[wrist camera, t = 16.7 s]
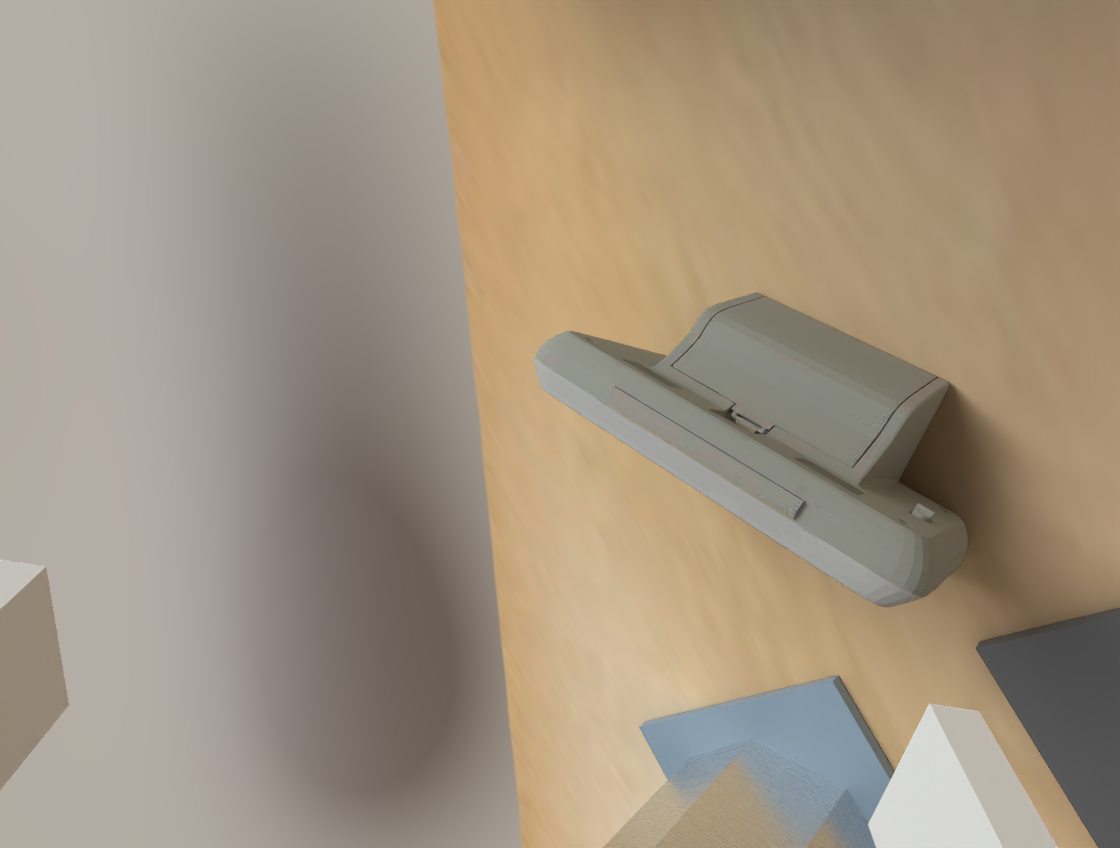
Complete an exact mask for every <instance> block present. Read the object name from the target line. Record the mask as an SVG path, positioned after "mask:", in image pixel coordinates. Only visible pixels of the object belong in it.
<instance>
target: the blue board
mask: <svg viewBox="0 0 1120 848" xmlns="http://www.w3.org/2000/svg"><path fill="white" fill-rule="evenodd" d="M639 728H640V729H641V731H642V733H643V735H644V737H645V739H646V741H647V742H648V744H649V746H650V748H651V750H652V752H653V753H654V755H655V757H656V759H657V761H658V763H659V764H660V766H661V768H662V770H663V772H664V774H665V776H666V777H667V779H668V780H669V778H670V777H671V776H672V775H673V774H674V773H675V772H676V771H677V770H678V769H679V768H680V767H681V766H682V765H683V764H684V763H685V762H686V761H687V760H688V759H689V758H690V757H692V756H695V755H698V754H702V753H705V752H708V751H711V750H715V749H718V748H721V747H725V746H728V745H731V744H734V743H738V742H741V741H744V740H747V739H751V738H753V739H755V740H757V741H759V742H761V743H762V744H764V745H766V746H768V747H770V748H772V749H774V750H775V751H777V752H779V753H781V754H783V755H785V756H787V757H788V758H790V759H792V760H794V761H796V762H798V763H799V764H801V765H803V766H805V767H807V768H809V769H811V770H812V771H814V772H816V773H818V774H820V775H822V776H823V777H825V778H827V779H829V780H831V781H833V782H835V783H836V784H838V785H840V786H842V787H844V788H846V789H847V791H848V792H849V794H850V796H851V797H852V799H853V800H854V802H855V803H856V805H857V806H858V808H859V809H860V811H861V812H862V814H863V815H864V817H865V819H866V820H867V822H868V823H869V821H870V819H871V817H872V815H873V813H874V811H875V810H876V808H877V806H878V804H879V802H880V800H881V798H882V796H883V794H884V792H885V790H886V788H887V786H888V784H889V782H890V780H891V778H892V776H893V774H894V770H893V768H892V767H891V765H890V763H889V762H888V760H887V758H886V757H885V755H884V753H883V751H882V750H881V748H880V746H879V745H878V743H877V741H876V739H875V738H874V736H873V734H872V733H871V731H870V729H869V727H868V726H867V724H866V722H865V721H864V719H863V717H862V716H861V714H860V712H859V710H858V709H857V707H856V705H855V704H854V702H853V700H852V698H851V697H850V695H849V693H848V692H847V690H846V688H845V687H844V685H843V683H842V681H841V680H840V678H839V676H834V677H829V678H825V679H821V680H817V681H813V682H809V683H804V684H800V685H796V686H792V687H788V688H784V689H779V690H775V691H771V692H767V693H763V694H759V695H754V696H750V697H746V698H742V699H738V700H734V701H729V702H725V703H721V704H717V705H713V706H708V707H704V708H700V709H696V710H692V711H688V712H683V713H679V714H675V715H671V716H667V717H663V718H658V719H654V720H650V721H646V722H644V723H643V724H642V725H641V726H640V727H639Z"/></svg>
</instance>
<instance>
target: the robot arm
mask: <svg viewBox="0 0 1120 848" xmlns="http://www.w3.org/2000/svg"><path fill="white" fill-rule="evenodd" d="M68 705H69V703H68V697H67V691H66V685H65V679H64V673H63V666H62V660H61V654H60V648H59V642H58V636H57V630H56V624H55V618H54V612H53V606H52V600H51V594H50V588H49V582H48V575H47V569H46V566H39V565H33V564H26V563H20V562H14V561H7V560H1V559H0V790H1V789H2V787H3V786H4V785H5V784H6V782H7V781H8V780H9V779H10V778H11V776H12V775H13V774H14V773H15V771H16V770H17V769H18V768H19V766H20V765H21V764H22V763H23V761H24V760H25V759H26V758H27V756H28V755H29V754H30V753H31V751H32V750H33V749H34V748H35V747H36V745H37V744H38V743H39V742H40V740H41V739H42V738H43V737H44V735H45V734H46V733H47V731H48V730H49V729H50V728H51V727H52V725H53V724H54V723H55V722H56V720H57V719H58V718H59V717H60V715H61V714H62V713H63V712H64V710H65V709H66V708H67V707H68ZM868 826H869V829H870V832H871V835H872V838H873V840H874V843H875V846H876V848H1058V847H1057V845H1056V843H1055V841H1054V840H1053V838H1052V836H1051V834H1050V833H1049V831H1048V829H1047V828H1046V826H1045V824H1044V822H1043V821H1042V819H1041V817H1040V815H1039V814H1038V812H1037V810H1036V809H1035V807H1034V805H1033V803H1032V802H1031V800H1030V798H1029V796H1028V795H1027V793H1026V791H1025V790H1024V788H1023V786H1022V784H1021V783H1020V781H1019V779H1018V777H1017V776H1016V774H1015V772H1014V771H1013V769H1012V767H1011V765H1010V764H1009V762H1008V760H1007V758H1006V757H1005V755H1004V753H1003V752H1002V750H1001V748H1000V746H999V745H998V743H997V741H996V739H995V738H994V736H993V734H992V733H991V731H990V729H989V727H988V726H987V724H986V722H985V720H984V719H983V717H982V715H981V714H980V712H979V711H976V710H969V709H963V708H957V707H950V706H944V705H937V704H931V703H929V705H928V707H927V709H926V711H925V713H924V715H923V717H922V719H921V721H920V723H919V725H918V727H917V729H916V731H915V733H914V735H913V737H912V739H911V741H910V743H909V744H908V746H907V748H906V750H905V752H904V754H903V756H902V758H901V760H900V762H899V764H898V766H897V768H896V770H895V772H894V774H893V776H892V778H891V780H890V782H889V784H888V786H887V788H886V790H885V792H884V794H883V796H882V798H881V800H880V802H879V804H878V806H877V808H876V810H875V811H874V813H873V815H872V817H871V819H870V821H869V823H868Z"/></svg>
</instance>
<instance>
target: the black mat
mask: <svg viewBox="0 0 1120 848" xmlns="http://www.w3.org/2000/svg"><path fill="white" fill-rule="evenodd" d="M976 650H977V651H978V653H979V655H980V656H981V658H982V659H983V661H984V663H985V664H986V666H987V668H988V669H989V671H990V672H991V674H992V676H993V677H994V679H995V681H996V682H997V684H998V685H999V687H1000V689H1001V690H1002V692H1003V694H1004V695H1005V697H1006V698H1007V700H1008V702H1009V703H1010V705H1011V707H1012V708H1013V710H1014V711H1015V713H1016V715H1017V716H1018V718H1019V720H1020V721H1021V723H1022V724H1023V726H1024V728H1025V729H1026V731H1027V733H1028V734H1029V736H1030V738H1031V739H1032V741H1033V742H1034V744H1035V746H1036V747H1037V749H1038V751H1039V752H1040V754H1041V755H1042V757H1043V759H1044V760H1045V762H1046V764H1047V765H1048V767H1049V768H1050V770H1051V772H1052V773H1053V775H1054V777H1055V778H1056V780H1057V781H1058V783H1059V785H1060V786H1061V788H1062V790H1063V791H1064V793H1065V794H1066V796H1067V798H1068V799H1069V801H1070V803H1071V804H1072V806H1073V807H1074V809H1075V811H1076V812H1077V814H1078V816H1079V817H1080V819H1081V820H1082V822H1083V824H1084V825H1085V827H1086V829H1087V830H1088V832H1089V833H1090V835H1091V837H1092V838H1093V840H1094V842H1095V843H1096V845H1097V846H1098V848H1120V608H1117V609H1113V610H1109V611H1105V612H1101V613H1096V614H1092V615H1088V616H1084V617H1080V618H1076V619H1071V620H1067V621H1063V622H1059V623H1055V624H1051V625H1046V626H1042V627H1038V628H1034V629H1030V630H1025V631H1021V632H1017V633H1013V634H1009V635H1005V636H1000V637H996V638H992V639H988V640H984V641H980V642H979V644H978V645H977V647H976Z"/></svg>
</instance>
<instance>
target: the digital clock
mask: <svg viewBox="0 0 1120 848" xmlns="http://www.w3.org/2000/svg"><path fill="white" fill-rule="evenodd" d="M534 362H535V366H536V370H537V374H538V378H539V381H540V385H541V387H542V388H543V389H544V390H545V391H546V392H547V393H549V394H550V395H552V396H553V397H555V398H556V399H558V400H559V401H561V402H562V403H564V404H565V405H567V406H568V407H570V408H571V409H573V410H574V411H576V412H577V413H579V414H580V415H582V416H583V417H585V418H586V419H588V420H589V421H591V422H592V423H594V424H596V425H597V426H599V427H600V428H602V429H603V430H605V431H606V432H608V433H609V434H611V435H613V436H614V437H616V438H617V439H619V440H620V441H622V442H623V443H625V444H626V445H628V446H629V447H631V448H633V449H634V450H636V451H637V452H639V453H640V454H642V455H643V456H645V457H646V458H648V459H650V460H651V461H653V462H654V463H656V464H657V465H659V466H660V467H662V468H663V469H665V470H666V471H668V472H670V473H671V474H673V475H674V476H676V477H677V478H679V479H680V480H682V481H683V482H685V483H686V484H688V485H690V486H691V487H693V488H694V489H696V490H697V491H699V492H700V493H702V494H703V495H705V496H707V497H708V498H710V499H711V500H713V501H714V502H716V503H717V504H719V505H720V506H722V507H723V508H725V509H727V510H728V511H730V512H731V513H733V514H734V515H736V516H737V517H739V518H740V519H742V520H744V521H745V522H747V523H748V524H750V525H751V526H753V527H754V528H756V529H757V530H759V531H760V532H762V533H764V534H765V535H767V536H768V537H770V538H771V539H773V540H774V541H776V542H777V543H779V544H780V545H782V546H784V547H785V548H787V549H788V550H790V551H791V552H793V553H794V554H796V555H797V556H799V557H801V558H802V559H804V560H805V561H807V562H808V563H810V564H811V565H813V566H814V567H816V568H818V569H819V570H821V571H822V572H824V573H825V574H827V575H829V576H830V577H832V578H833V579H835V580H836V581H838V582H840V583H841V584H843V585H844V586H846V587H847V588H849V589H851V590H852V591H854V592H855V593H857V594H858V595H860V596H862V597H863V598H865V599H867V600H869V601H870V602H872V603H874V604H877V605H879V606H883V607H892V606H896V605H900V604H904V603H907V602H910V601H913V600H916V599H919V598H923V597H925V596H927V595H928V594H930V593H931V592H933V591H934V590H935V589H936V588H937V587H938V586H939V585H940V584H941V583H942V582H943V581H944V580H945V579H946V578H947V577H948V576H949V575H950V574H951V573H953V572H954V571H955V570H956V569H957V568H958V567H959V566H960V565H961V563H962V561H963V559H964V557H965V555H966V553H967V548H968V535H967V530H966V526H965V523H964V521H963V520H962V518H961V517H959V516H958V515H956V514H955V513H953V512H951V511H950V510H948V509H946V508H944V507H943V506H941V505H939V504H937V503H935V502H934V501H932V500H930V499H928V498H926V497H925V496H923V495H921V494H919V493H917V492H916V491H914V490H912V489H910V488H908V487H907V486H905V485H903V484H901V483H900V482H899V480H900V478H901V476H902V474H903V472H904V470H905V469H906V467H907V465H908V463H909V461H910V459H911V457H912V456H913V454H914V452H915V450H916V448H917V446H918V444H919V443H920V441H921V439H922V437H923V435H924V433H925V431H926V430H927V428H928V426H929V424H930V422H931V420H932V418H933V417H934V415H935V413H936V411H937V409H938V407H939V405H940V404H941V402H942V400H943V398H944V396H945V394H946V392H947V390H948V388H949V385H950V383H949V382H947V381H945V380H943V379H941V378H939V377H937V376H935V375H932V374H930V373H928V372H926V371H924V370H922V369H920V368H917V367H915V366H913V365H911V364H909V363H907V362H905V361H902V360H900V359H898V358H896V357H894V356H892V355H890V354H887V353H885V352H883V351H881V350H879V349H877V348H875V347H873V346H870V345H868V344H866V343H864V342H862V341H860V340H858V339H855V338H853V337H851V336H849V335H847V334H845V333H843V332H840V331H838V330H836V329H834V328H832V327H830V326H828V325H825V324H823V323H821V322H819V321H817V320H815V319H813V318H810V317H808V316H806V315H804V314H802V313H800V312H798V311H796V310H793V309H791V308H789V307H787V306H785V305H783V304H781V303H778V302H776V301H774V300H772V299H770V298H768V297H765V296H763V295H761V294H759V293H753V294H750V295H746V296H743V297H739V298H736V299H733V300H729V301H726V302H723V303H719V304H716V305H714V306H712V307H710V308H708V309H707V310H705V311H704V312H703V313H702V314H701V315H700V317H699V318H698V320H697V321H696V323H695V325H694V326H693V328H692V330H691V331H690V333H689V334H688V335H687V336H686V337H685V339H684V340H683V341H682V342H681V343H680V344H679V345H678V346H677V347H676V348H675V349H674V350H673V351H672V352H671V353H670V354H669V355H668V356H665V355H662V354H658V353H654V352H651V351H647V350H643V349H639V348H635V347H632V346H628V345H624V344H620V343H616V342H613V341H609V340H605V339H601V338H597V337H594V336H590V335H586V334H582V333H578V332H573V331H568V332H564V333H561V334H559V335H556V336H555V337H553V338H551V339H549V340H547V341H546V342H545V343H544V344H543V345H542V346H541V347H540V348H539V350H538V351H537V353H536V355H535V357H534ZM917 391H918V392H917ZM795 458H796V459H795ZM798 458H800V459H802V458H803V459H802V460H803V461H802V460H800V459H798ZM797 459H798V460H797ZM804 459H805V460H804ZM799 460H800V461H801V462H800V461H799ZM806 460H807V461H809V462H810V463H809V462H807V461H806ZM804 461H805V462H807V463H808V464H807V463H805V462H804ZM802 462H803V463H802ZM804 463H805V464H806V465H805V464H804ZM811 463H812V464H811ZM809 464H810V465H809ZM813 464H814V465H816V466H817V467H816V466H814V465H813ZM807 465H808V466H807ZM811 465H812V466H814V467H815V468H814V467H812V466H811ZM809 466H810V467H809ZM811 467H812V468H813V469H812V468H811ZM818 467H819V468H818ZM816 468H817V469H816ZM820 468H821V469H823V470H824V471H823V470H821V469H820ZM814 469H815V470H814ZM818 469H819V470H821V471H822V472H821V471H819V470H818ZM816 470H817V471H816ZM818 471H819V472H820V473H819V472H818ZM825 471H826V472H828V473H829V474H828V473H826V472H825ZM823 472H824V473H823ZM821 473H822V474H821ZM825 473H826V474H828V475H829V476H828V475H826V474H825ZM823 474H824V475H823ZM830 474H831V475H830ZM825 475H826V476H827V477H826V476H825ZM832 475H833V476H835V477H836V478H835V477H833V476H832ZM830 476H831V477H833V478H835V479H836V480H835V479H833V478H831V477H830ZM828 477H829V478H828ZM830 478H831V479H832V480H831V479H830ZM837 478H838V479H837ZM839 479H840V480H842V481H843V482H842V481H840V480H839ZM833 480H834V481H833ZM837 480H838V481H840V482H841V483H840V482H838V481H837ZM835 481H836V482H835ZM837 482H838V483H839V484H838V483H837ZM844 482H845V483H844ZM842 483H843V484H842ZM846 483H847V484H849V485H850V486H849V485H847V484H846ZM840 484H841V485H840ZM844 484H845V485H847V486H848V487H847V486H845V485H844ZM842 485H843V486H842ZM844 486H845V487H846V488H845V487H844ZM851 486H852V487H851ZM849 487H850V488H849ZM853 487H854V488H856V489H857V490H856V489H854V488H853ZM847 488H848V489H847ZM851 488H852V489H854V490H855V491H854V490H852V489H851ZM849 489H850V490H852V491H853V492H852V491H850V490H849ZM858 490H859V491H858ZM856 491H857V492H859V493H861V492H863V493H864V494H863V493H861V494H862V495H861V494H859V493H857V492H856ZM860 491H861V492H860ZM854 492H855V493H854ZM856 493H857V494H858V495H857V494H856Z"/></svg>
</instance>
